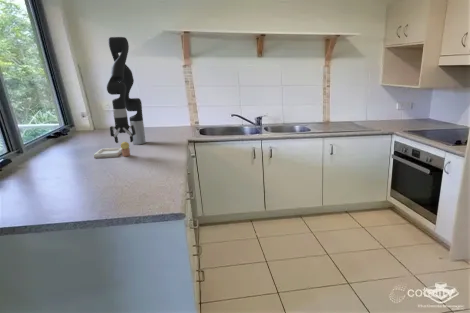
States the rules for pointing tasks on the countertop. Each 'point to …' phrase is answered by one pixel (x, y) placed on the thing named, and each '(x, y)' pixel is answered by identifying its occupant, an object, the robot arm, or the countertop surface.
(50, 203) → the countertop surface
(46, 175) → the countertop surface
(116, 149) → the tray
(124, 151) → the cup
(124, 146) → the ball
